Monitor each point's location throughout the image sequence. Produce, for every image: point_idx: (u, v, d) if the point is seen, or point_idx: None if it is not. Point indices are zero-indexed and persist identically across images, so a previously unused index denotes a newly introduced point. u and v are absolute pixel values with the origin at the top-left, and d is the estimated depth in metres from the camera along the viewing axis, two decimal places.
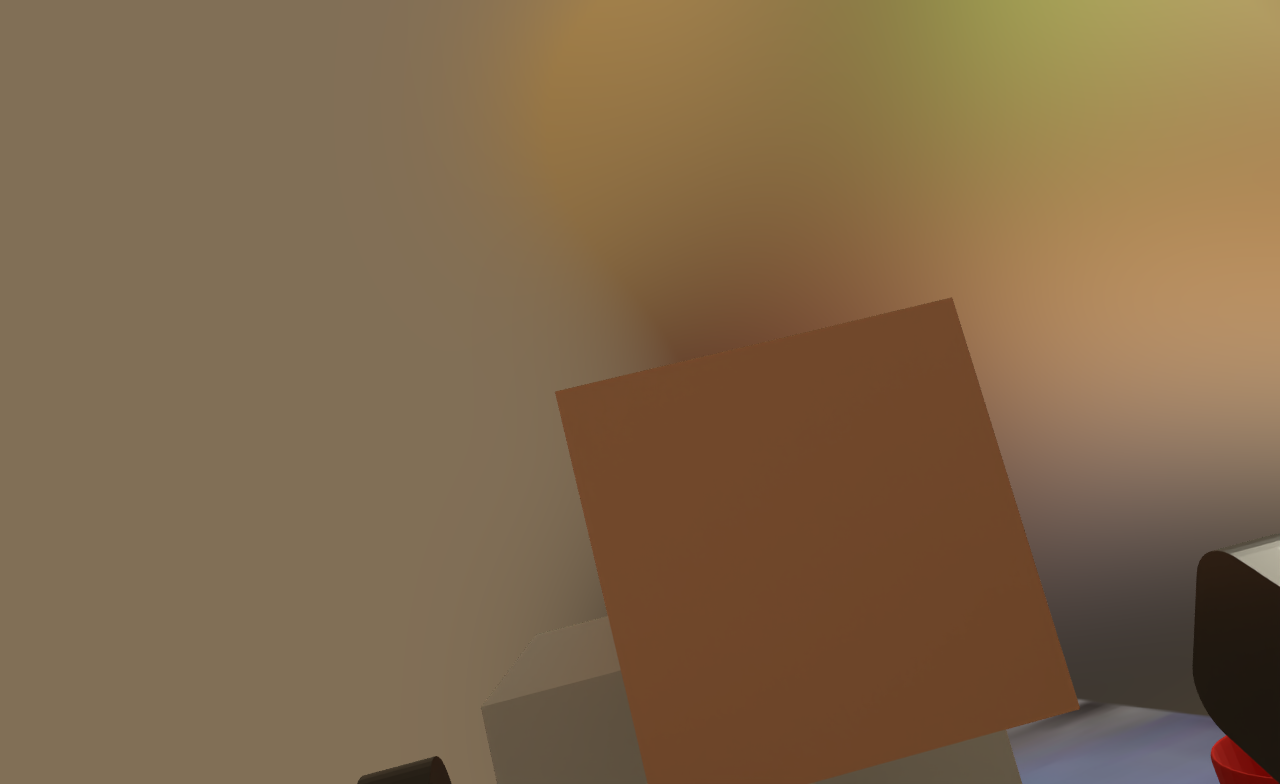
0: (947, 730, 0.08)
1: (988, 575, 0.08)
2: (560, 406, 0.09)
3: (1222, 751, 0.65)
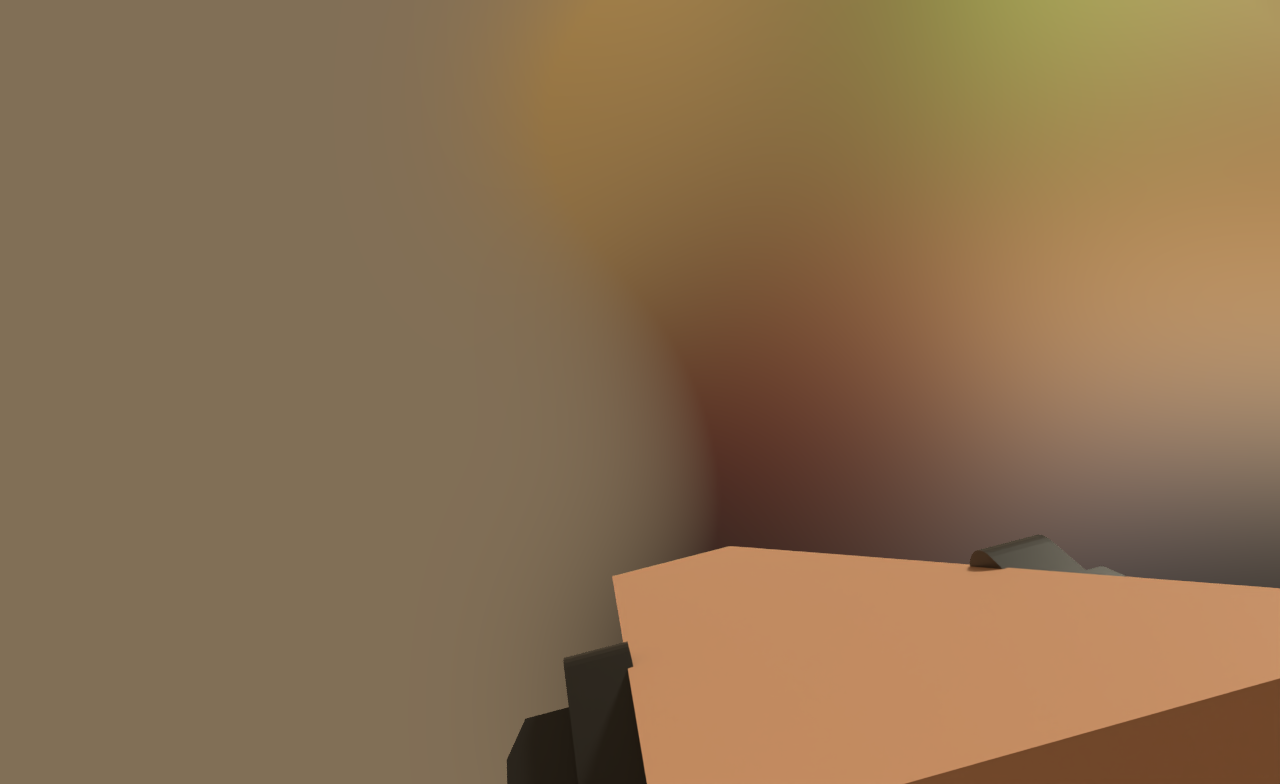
0: None
1: None
2: None
3: None
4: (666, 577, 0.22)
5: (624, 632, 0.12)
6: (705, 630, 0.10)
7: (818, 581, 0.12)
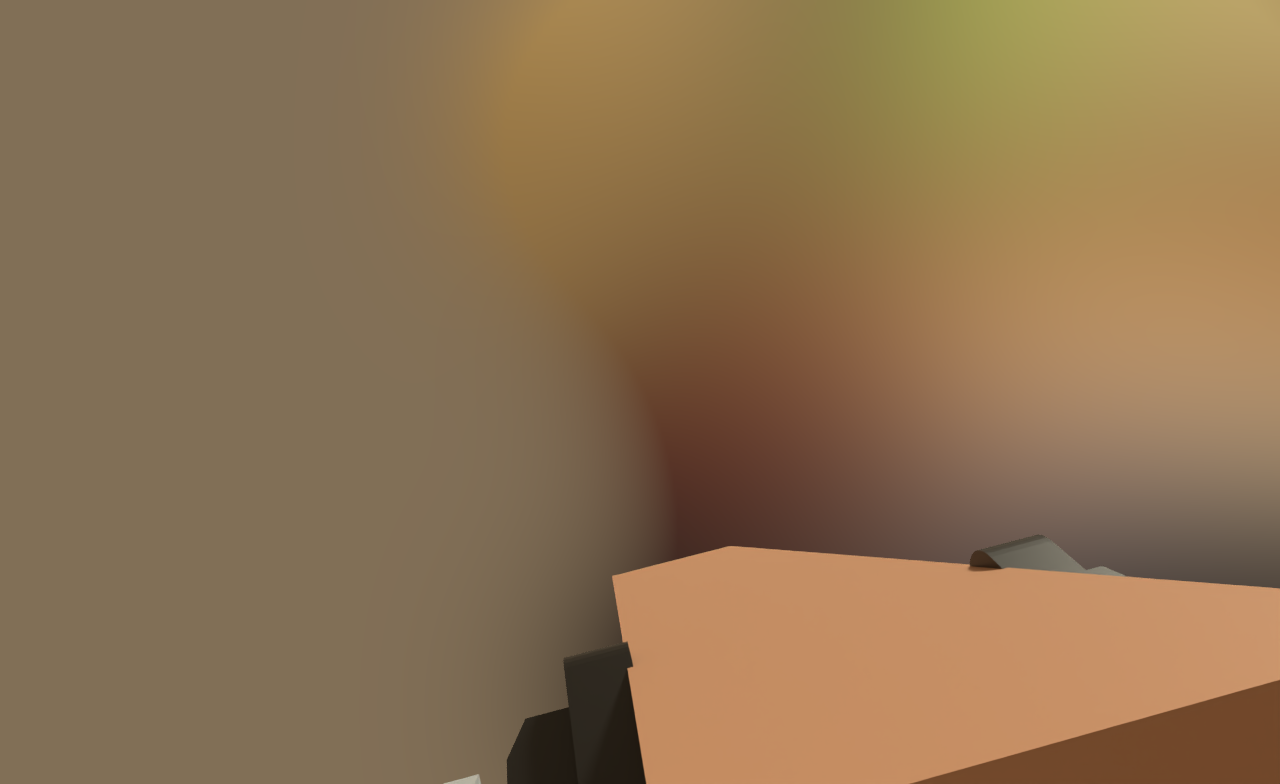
0: None
1: None
2: None
3: None
4: (666, 577, 0.22)
5: (624, 632, 0.12)
6: (705, 630, 0.10)
7: (818, 581, 0.12)
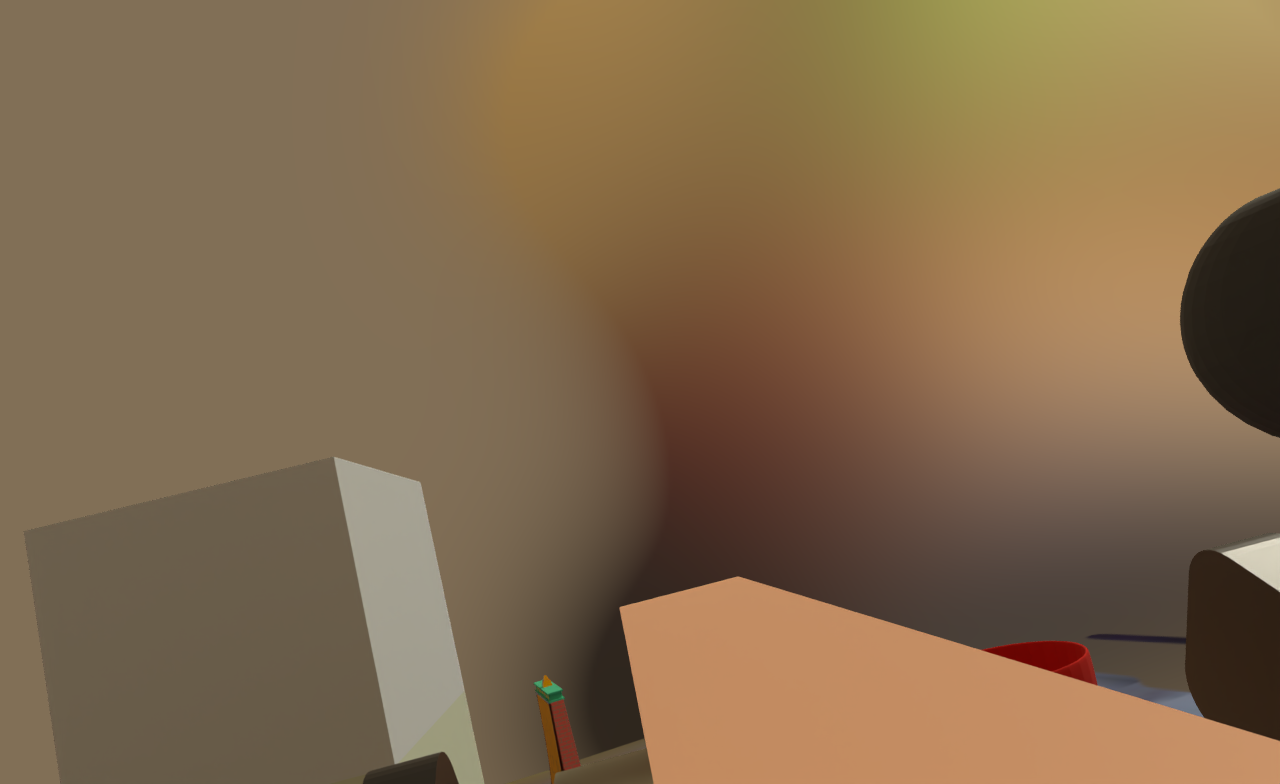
0: None
1: None
2: None
3: None
4: (677, 619, 0.21)
5: (642, 709, 0.12)
6: (728, 722, 0.10)
7: (840, 656, 0.12)
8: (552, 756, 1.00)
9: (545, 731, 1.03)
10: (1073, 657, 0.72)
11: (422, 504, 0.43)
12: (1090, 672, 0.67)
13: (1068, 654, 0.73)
